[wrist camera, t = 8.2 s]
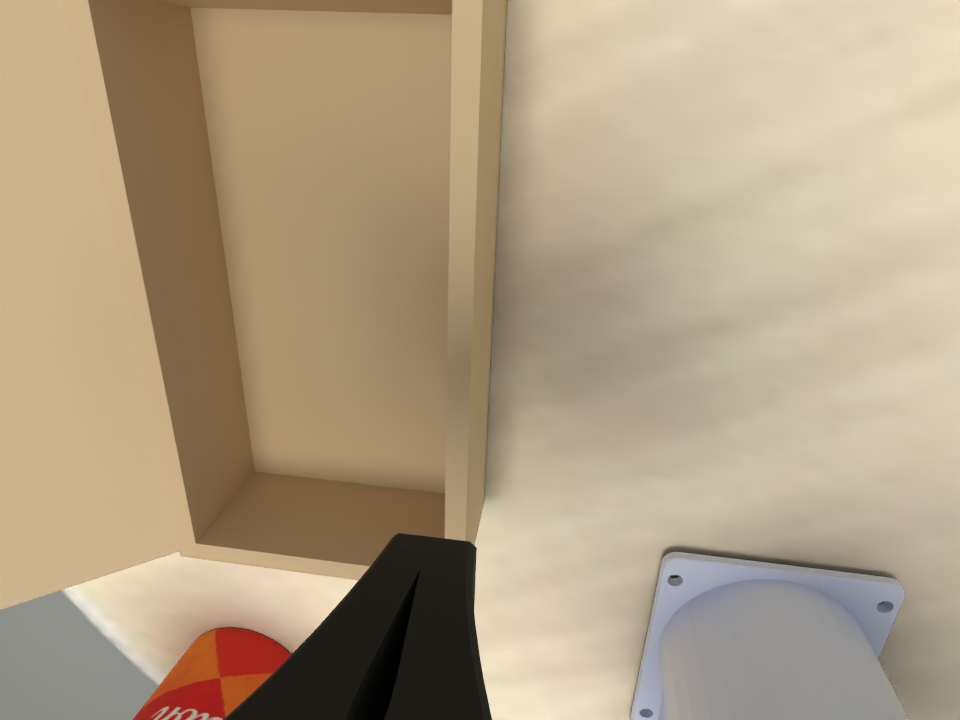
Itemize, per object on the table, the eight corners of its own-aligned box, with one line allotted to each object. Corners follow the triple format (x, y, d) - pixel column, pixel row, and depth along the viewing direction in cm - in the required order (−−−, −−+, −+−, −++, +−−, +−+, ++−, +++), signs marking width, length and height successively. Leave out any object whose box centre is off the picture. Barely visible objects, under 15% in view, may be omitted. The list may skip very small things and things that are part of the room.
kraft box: (484, 501, 23) (463, 594, 18) (248, 473, 24) (180, 556, 19) (507, -8, 16) (484, -39, 12) (178, -16, 17) (51, -47, 13)
